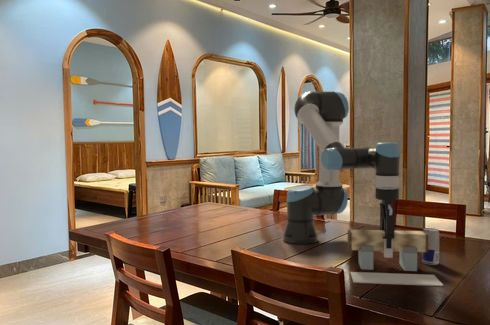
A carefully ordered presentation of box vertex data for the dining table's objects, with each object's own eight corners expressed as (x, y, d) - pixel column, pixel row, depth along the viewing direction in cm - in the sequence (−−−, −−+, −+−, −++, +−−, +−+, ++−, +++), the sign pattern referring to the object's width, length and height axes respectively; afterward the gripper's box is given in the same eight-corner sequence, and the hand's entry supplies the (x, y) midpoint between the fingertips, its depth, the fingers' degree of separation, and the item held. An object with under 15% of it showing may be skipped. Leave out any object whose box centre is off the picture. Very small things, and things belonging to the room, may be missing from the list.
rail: (349, 250, 139) (349, 232, 138) (347, 246, 144) (347, 229, 143) (428, 252, 135) (428, 234, 134) (423, 248, 140) (423, 231, 139)
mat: (353, 282, 125) (353, 281, 125) (350, 273, 133) (350, 271, 133) (443, 286, 121) (443, 284, 121) (433, 276, 130) (433, 274, 129)
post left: (361, 269, 137) (361, 246, 137) (358, 262, 144) (358, 240, 144) (373, 269, 136) (373, 246, 136) (370, 263, 144) (370, 240, 143)
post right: (404, 270, 135) (404, 247, 134) (399, 263, 142) (399, 241, 142) (417, 271, 134) (417, 247, 134) (411, 264, 142) (411, 241, 141)
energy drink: (419, 261, 145) (419, 228, 145) (433, 260, 146) (434, 227, 145) (427, 265, 140) (427, 231, 139) (442, 265, 140) (442, 230, 140)
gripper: (405, 191, 128) (404, 263, 130) (393, 184, 146) (392, 248, 148) (380, 191, 129) (379, 262, 131) (371, 184, 147) (371, 247, 149)
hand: (386, 254), depth 139 cm, fingers closed on rail, 5 cm apart
